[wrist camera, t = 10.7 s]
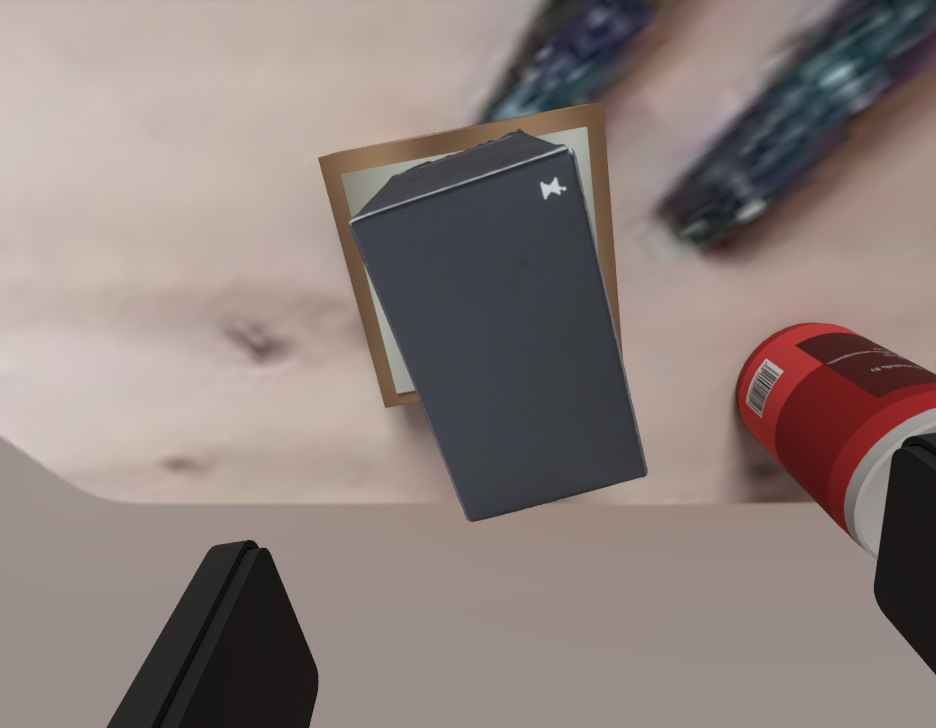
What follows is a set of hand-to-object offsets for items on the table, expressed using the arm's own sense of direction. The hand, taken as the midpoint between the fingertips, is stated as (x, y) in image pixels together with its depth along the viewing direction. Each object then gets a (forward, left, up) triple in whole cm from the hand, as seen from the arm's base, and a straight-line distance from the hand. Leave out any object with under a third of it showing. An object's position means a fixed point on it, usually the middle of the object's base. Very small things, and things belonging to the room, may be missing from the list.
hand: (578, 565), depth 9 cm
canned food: (-17, +11, -23) cm, 30 cm away
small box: (0, 0, -19) cm, 19 cm away
